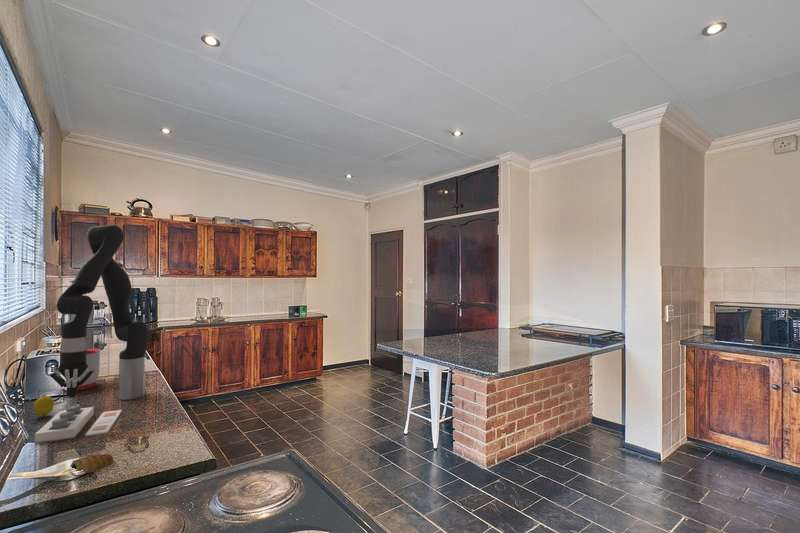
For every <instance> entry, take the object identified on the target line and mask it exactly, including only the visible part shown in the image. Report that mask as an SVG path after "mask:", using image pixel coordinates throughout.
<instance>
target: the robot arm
mask: <svg viewBox="0 0 800 533" xmlns="http://www.w3.org/2000/svg"><path fill="white" fill-rule="evenodd" d="M86 236H87V237H86V238H87V241H88V244H89V247H90V249H91V252H92V254H93V255H92V256H91V257H90V258H89V259H88V260H87V261H86V262H84V263H83V265H82V266H81V267H80V269H79V270H78V272H77V273H76V276H75V278H74V280H73V281H72V283H71V284H70V285H69V286H68V287H67V289H65V290H64V292H63V293H62V294H61V295H60V296H59V297H58V299H57V302H56V310H57V312H58V313H59V314H62V315H75V316H74V318H73V320H68V321H66V322H63V324H62V325H61V341H60V348H59V351H60V352H59V353H60V366H59V368H57V370H56V371H55V372H52V373H51V374H50V377H51V378H52V379H53V380H54V381H55V383H57V384H58V385H59V386H60V387H61V388H62V387H63V386H64V387H67V391H66V397H68V399H71V398H72V399H73V398H76V396H77V395H78V393H79V390H78V386H79V385H82V384H83V383H84V382H85V381H86V380H87V379H88V378H89V377H90V376H91V375H92V374H93V373H94V371H95V370H94V369H92V370H91V369H90V368H88V365H87V363H86V358H87V349H88V341H87V329H88V328H87V326H88V324H89V320H90V317H91V314H92V313H93V312H92V311H93V310H94V300H93V299H92V298H91V297H90V296H88V294H90V293H93V292H94V291H95V289H96V287H97V286H98V283H99V281H100V278H102V285H103V286H104V291H105V295H106V296H107V301H108V304H109V308H110V311H111V316H112V321H113V322H112V323H113V329H114V333H115V336H116V338H117V339H118V340H119V341H121V342H126V347H125V349H123V350H121V351H120V352H119V355H118V359H119V360H118V369H119V370H118V400H121V401H129V400H135V399H139V398H144V396H145V394H146V372H145V366H146V364H145V359H146V358H145V356H146V351H147V349H148V340H149V330H148V326H147V324H146V323H145V322H144V321H142V320H133V318H132V315H131V314H132V313H131V312H130V303H131V299H132V297H133V296H132V295H133V289H132V284H131V283H132V282H131V280H130V276H129V275H128V273H127V271H126V270H124V269H123V267H122V266H120V265H119V263H118V262H116V260H115V259H114V258H113V257H114V255H115V254H116V253H117V251H118V250H119V248H120V247H121V245H122V244H123V242H124V238H125V235H124V230H122V228H121V227H120V226H118V225H117V224H116V225H115V224H108V225H107V224H105V225H95V226H90V228H88V230H87V233H86ZM85 370H86V372H85V374H86V376H85V377H84V378H83V379H82V380H81V381H79V379H80V376H81V375H82V374H83V373H84V371H85ZM60 373H61V374H62V375H63V376H64V377H65V379H66V381H65V380H64V379H63V378H62V377H61V376H60V375H61V374H60Z"/></svg>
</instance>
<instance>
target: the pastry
mask: <svg viewBox="0 0 800 533" xmlns="http://www.w3.org/2000/svg"><path fill="white" fill-rule="evenodd" d="M113 462H114V457H113V455H112V454H111V453H109V454H108V453H104V454H101V453H99V454H97V453H95V454H88V455H86V456H82V457H81V456H80V457H78V458H77V459H74V460H72V462H71V464H70V466H69V468H70V467H72V468H75V469H77V470H76V471H81V470H83V471H84V472H85V473H88V474H89V473H94V472H93V471H95V470H97V469H100V468H102V467H104V466H106V465H108V466H110V465H111V464H112V463H113ZM109 464H110V465H109ZM104 468H105V467H104ZM102 469H103V468H102ZM100 470H101V469H100ZM97 471H98V470H97ZM95 472H96V471H95Z"/></svg>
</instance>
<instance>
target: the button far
mask: <svg viewBox="0 0 800 533" xmlns="http://www.w3.org/2000/svg"><path fill="white" fill-rule="evenodd" d="M81 407H82V406H81V405H77V404H76V405H70V406H68V407H66V410H67V412H71V411H73V412H75V414H80V413H81Z"/></svg>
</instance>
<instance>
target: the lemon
mask: <svg viewBox="0 0 800 533" xmlns="http://www.w3.org/2000/svg"><path fill="white" fill-rule="evenodd" d="M54 405H55V404H54V399H53V398H52V397H51V396H48V395H42V396H40V397H39V398H38V399H36V400H35V403H34V405H33V410H34V413H35V414H36V415H37V416H41V417H43V418H44V417H46V416H47V415H48V414H50V413H52V411H53V409H54V408H55V407H54Z"/></svg>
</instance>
